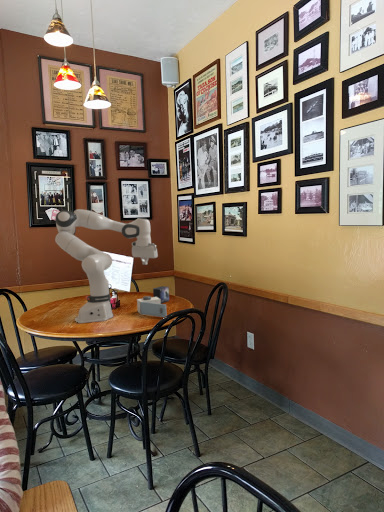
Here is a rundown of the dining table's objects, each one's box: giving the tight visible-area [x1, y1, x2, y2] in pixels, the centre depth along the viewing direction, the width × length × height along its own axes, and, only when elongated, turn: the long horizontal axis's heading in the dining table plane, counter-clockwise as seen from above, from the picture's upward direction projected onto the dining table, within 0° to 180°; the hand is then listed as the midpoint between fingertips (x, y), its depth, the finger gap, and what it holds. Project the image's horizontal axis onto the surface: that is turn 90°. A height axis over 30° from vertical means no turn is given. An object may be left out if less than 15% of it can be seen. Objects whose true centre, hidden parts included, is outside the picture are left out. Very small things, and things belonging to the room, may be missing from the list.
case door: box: [140, 302, 168, 318], centre depth 213 cm, size 20×2×8 cm, turn 58°
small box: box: [152, 285, 170, 304], centre depth 251 cm, size 11×6×10 cm, turn 146°
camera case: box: [136, 295, 162, 315], centre depth 226 cm, size 13×8×10 cm, turn 114°
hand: (145, 264), depth 230 cm, fingers closed
